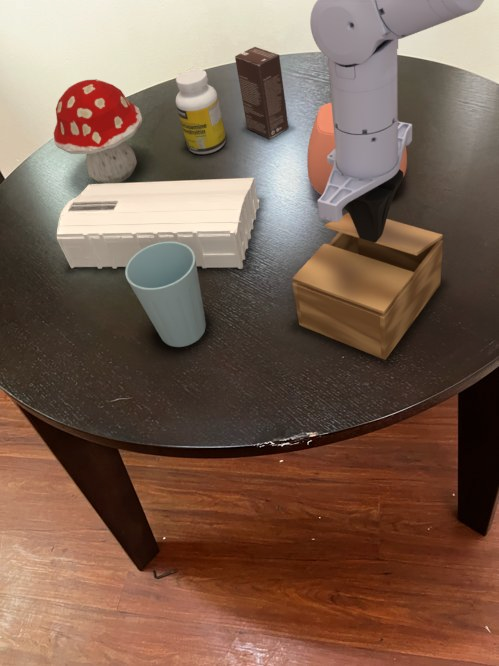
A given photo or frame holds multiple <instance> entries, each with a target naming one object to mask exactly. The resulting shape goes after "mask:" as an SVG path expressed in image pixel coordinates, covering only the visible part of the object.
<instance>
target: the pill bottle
mask: <svg viewBox="0 0 499 666" xmlns="http://www.w3.org/2000/svg"><path fill="white" fill-rule="evenodd" d="M175 82H176V88H177V89H178V92H177V95H176V96H175V106H176V109H177V114H178V117H179V121H180V125H181V129H182V133H183V136H184V139H185V140H184V141H185V144H186V147H187V149H188V150H189V151H190V152H191V153H192V154H197V155H208V154H212V153H215V152H217V151H219V150H220V149H221V148H223V146H225V144H226V142H227V135H226V130H225V126H224V121H223V116H222V110H221V106H220V102H219V97H218V93H217V91H216V89H215V88H214V87H213V86H211V85H210V84H209V78H208V74H207V72H206V70H205V69H201V68H192V69H187V70H184V71H182V72H180V73H179V74H178V75H177V76H176V77H175Z"/></svg>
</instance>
